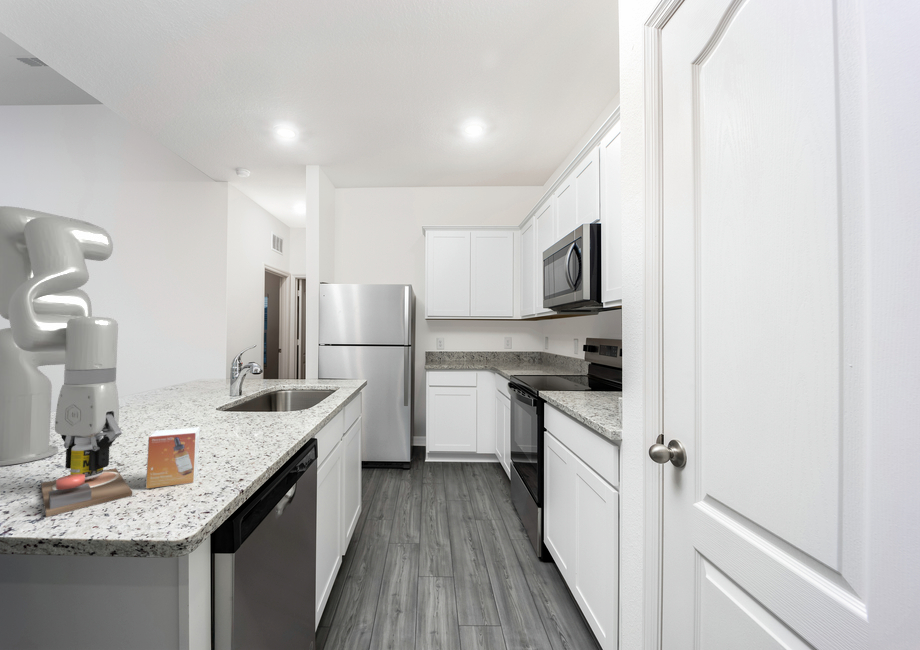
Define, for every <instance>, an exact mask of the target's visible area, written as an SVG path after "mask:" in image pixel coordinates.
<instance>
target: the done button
mask: <svg viewBox="0 0 920 650" xmlns="http://www.w3.org/2000/svg"><path fill="white" fill-rule="evenodd" d="M55 480H56V489H58V490H63V489H70V488H74V487H78V486H81V485H83V484H84V483H85V474H73V475H70V474H68V475H64V476H61V477H59V478H57V479H55Z"/></svg>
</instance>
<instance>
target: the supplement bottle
mask: <svg viewBox="0 0 920 650" xmlns="http://www.w3.org/2000/svg"><path fill="white" fill-rule="evenodd" d="M98 434H99V433H98ZM98 438H99V441H100V440H101V439H102V438H103V436H99V437H98ZM74 444H76V445H75V446H73V447H72V449H71V468H70V474H69V475H73V474H85V480H87V479H91V478H95V477H97V476H100V475H102V474H103V471H104V468H101V469H98V470H95V471H89V453H90V451H92V450H93V449H92V443H91V438H90V437H79V436H75V443H74Z"/></svg>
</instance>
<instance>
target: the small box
mask: <svg viewBox="0 0 920 650" xmlns="http://www.w3.org/2000/svg"><path fill="white" fill-rule="evenodd" d="M200 433H201V428H200V426H195V427H188V428H187V427H186V428H174V429H163V430H160V429H158V430H154V432H152V433H151V435H149V436H148V441H147V442H148V443H147V459H146V461H147V462H146V479H145V489H153V488H159V487H167V486H176V485H178V486H179V485H188V484H193V483H194V482H195V481H196V478H197V475H199V474H198V473H199V457H200V456H199V453H200V450H199V449H200V436H201V435H200Z"/></svg>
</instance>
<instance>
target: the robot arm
mask: <svg viewBox="0 0 920 650" xmlns="http://www.w3.org/2000/svg"><path fill="white" fill-rule="evenodd" d="M113 250H114V244H113V240H112V237H111V236H110V233H108V231H107V230H106V229H105V228H103V227H101V226H98V225H96V224H93V223H91V222H88V221H86V220H81V219H78V218H77V219H76V218H73V217H72V218H71V217H67V216H62V215H58V214H52V213H49V212H45V211H40V210H34V209H30V208H23V207H17V206H9V205H8V206H6V205H5V206H0V316H1V317H2V318H3V319H5V320H8V321H9V327H6V328H5V327H4V328H2V329H0V467H1V466H9V465H10V466H11V465H19V464H24V463H29V462H34V461H37V460H43V459H45V458H49V457H51V456H53V455H55V454H57V453H58V452H59V447H58V446H57V445H50V437H51V417H52V416H51V414H52V391H53V390H52V389H53V387H52V386H53V385H52V381H51V380H50V378H49V377H48V376H47V375H46V374H45V373H43V372H42V371H41V370H40V369H39V368H38V367H43V366H44V367H45V366H58V365H59V366H60V365H62V366H63V365H64V375H63V384H62V385H61V389H60V390H59V394H58V399H57V403H56V410H55V420H54V431H55V433H56V434H58V435H60V436H61V440H62V441H63V443H64V444H63V447H64V448H65V464H64V465H65V469H67V470H68V469H70V470H71V449H72V447H73V446H75V445H76V444H74V443H75V436H79V437H90V438H91V443H92V449H93V450H92V451H90V453H89V471H95V470H98V469H101V468H103V469H104V468H108V466H109V464H110V448H111V447H112V446H113V443H114V442H115V440H116V439H118V437H120V436H121V435H122V434H123V431H122V430H121V427H120V426H119V422H120V421H119V420H120V404H119V402H120V401H119V393H118V387H117V384H116V383H117V360H118V359H117V358H118V357H117V356H118V339H119V338H118V337H119V336H118V335H119V324H118V322H117V320H116V319H114V318H112V317H101V316H92V314H93V313H92V311H93V310H92V301H91V298H90V296H89V294H87V293H86V292H85V290H83V289H81V287H83V286H84V285H86V283H88V281H89V279H90V275H89V271H88V268H87V267H88V266H87V263H86V260H88V261H89V260H90V261H95V262H103V261H107V260H108V259H109V258H110V257H111V256H112V254H113V252H114V251H113ZM98 433H99V434H98ZM99 436H102V439H101V440H100V441H99V438H98V437H99Z"/></svg>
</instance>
